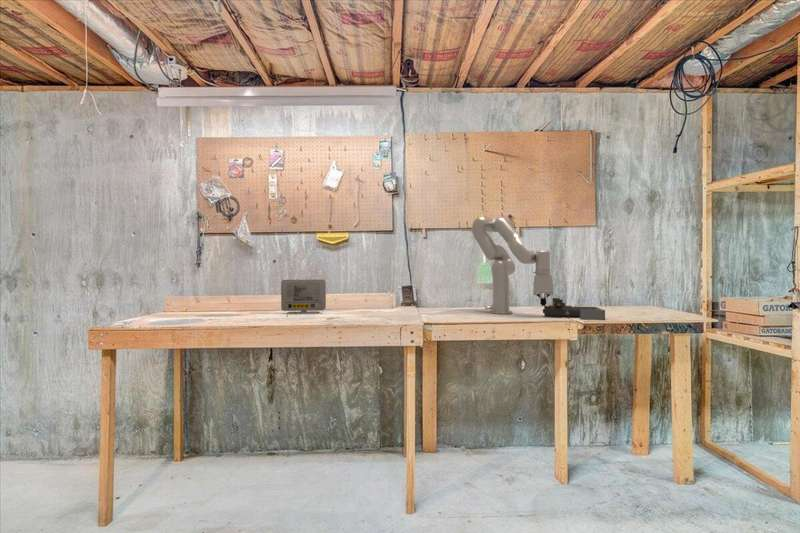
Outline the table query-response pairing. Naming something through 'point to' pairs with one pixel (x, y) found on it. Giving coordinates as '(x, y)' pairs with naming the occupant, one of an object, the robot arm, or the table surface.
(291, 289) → the network device
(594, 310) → the dock
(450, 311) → the table surface
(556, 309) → the laser sight
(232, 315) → the table surface
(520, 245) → the robot arm
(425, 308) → the table surface
